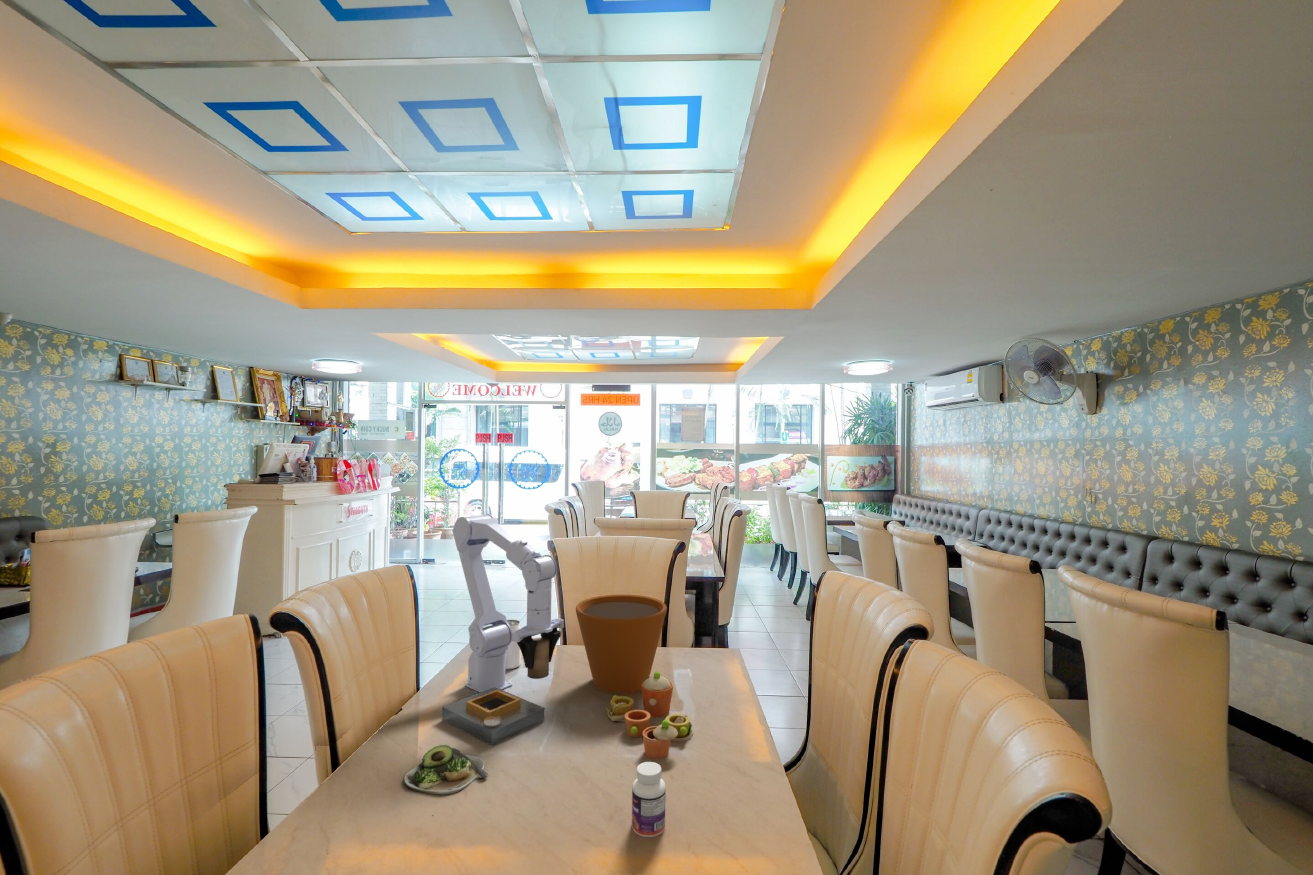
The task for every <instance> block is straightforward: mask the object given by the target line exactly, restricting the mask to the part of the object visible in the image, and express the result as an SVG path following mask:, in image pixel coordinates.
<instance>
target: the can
mask: <svg viewBox="0 0 1313 875" xmlns="http://www.w3.org/2000/svg"><path fill="white" fill-rule="evenodd" d="M507 622H508V624H509V625H510V627H511V629H512V632H515V631H517V630H519V629H521V628H522V627H521V624H520V620H519V619H507ZM521 655H522V652H521V650H520V648H519V646H518V644H517V642H514V641H512V642H511V643H510V644H509V645H508V650H506V657H505V670H513V669H514V670H515V669H517V668H519V667H520V666H521V661H522V656H521Z"/></svg>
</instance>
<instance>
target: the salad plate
mask: <svg viewBox="0 0 1313 875" xmlns="http://www.w3.org/2000/svg"><path fill="white" fill-rule="evenodd" d="M421 760H422V762H421V763H419V764H418V765H416V766H415V767H413V768H412V769H411V770H409V771H408V772H406V774H405V775H404V777H403V779H402V780H403V784H404V786H405V787H406V788H407V789H408V790H409V791H413V792H419V793H420V792H421V793H425V794H428V795H450V794H454V793H457V792H460V791H462V790H465V788H467V787H469V785H471V784H472V783H473V782H475V781H476V780H477V779H479V778H483V779H485V778H488V777H489V773H488V772H486V770H484V769H485V761H484V759H482V758H481V757H478V756H472V755H466V754H464V753H462V752H461V750H458V748H455V747H451V746H450V745H446V744H443V745H442V744H441V745H438V746H434V747H433V748H430V749H429V750H427V752H425V754H423V757H422V759H421ZM441 774H443V775H441ZM460 780H463V781H461V782H460V784H459V785H458V786H456V787H453V788H448V789H441V790H428V788H432V787H434V786H436V785H439V784H440V783H442V782H444V781H448V782H456V781H460ZM431 786H432V787H431Z"/></svg>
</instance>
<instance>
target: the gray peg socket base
mask: <svg viewBox="0 0 1313 875" xmlns="http://www.w3.org/2000/svg"><path fill="white" fill-rule="evenodd" d="M441 713H442V718H441V720H442V722H445V723H447V724H448V725H450V726H453V727H454V728H455V729H458V730H460V731H463V733H466V734H468V735H469V736H472V737H474V738H476V739H477V740H480V741H481V742H484V743H486V744H487V743H488V745H489V746H491V745H492V747H493V746H495V745H497V744H499V743H501V742H503V741H505V740H508V739H509V738H511V737H513V736H516V735H518V734H520V733H522V732H524V731H526V730H528V729H531V728H532V727H534V726H537V725H539V724H542V723H543V722H545V707H543V706H541V705H539V704H536V703H534V702H531V701H529V700H527V699H525V698H522V697H519V696H517V695H515V694H512V693H511V692H508V691H505V690H504V689H503V690H501V689H498V688H496V687H493V688H490V689H488V690H485V691H483V692H478V693H475V694H473V695H472V694H471V695H470V696H467V697H464V698H462V699H460V700H457V701H454V702H451V703H449V704H447V705H444V706H442V712H441Z"/></svg>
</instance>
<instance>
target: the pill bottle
mask: <svg viewBox="0 0 1313 875" xmlns="http://www.w3.org/2000/svg"><path fill="white" fill-rule="evenodd" d="M631 794H632V795H631V797H632V798H631V828H632V831H633V832H634V833H635V834H637V835H638V836H640V837H645V838H651V837H657V836H660V835H661V834H662V833H663V832H664V831H665V829H666V783H665V780H663V778H662V766H661V765H660V764H658V763H657V762H654V761H653V762H652V761H644V762H641V763H640V764H638V765H637V767H636V779H634V781H633V783H632V790H631Z"/></svg>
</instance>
